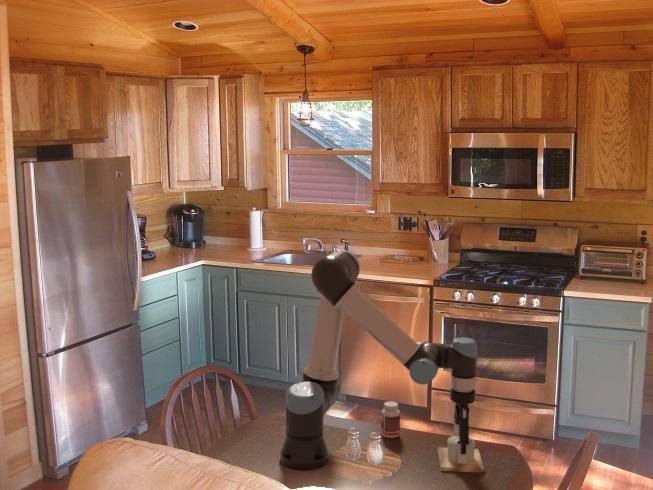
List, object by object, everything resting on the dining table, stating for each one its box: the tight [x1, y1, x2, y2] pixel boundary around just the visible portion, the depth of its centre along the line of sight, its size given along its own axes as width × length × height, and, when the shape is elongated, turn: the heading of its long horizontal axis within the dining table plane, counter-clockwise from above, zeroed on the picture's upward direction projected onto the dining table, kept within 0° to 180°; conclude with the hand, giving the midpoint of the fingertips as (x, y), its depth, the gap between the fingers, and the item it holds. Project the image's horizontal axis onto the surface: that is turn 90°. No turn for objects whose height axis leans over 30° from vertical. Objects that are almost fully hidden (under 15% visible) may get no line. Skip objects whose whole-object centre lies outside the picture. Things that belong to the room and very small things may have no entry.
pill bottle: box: [380, 401, 401, 439], centre depth 258 cm, size 6×6×11 cm
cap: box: [446, 435, 476, 464], centre depth 239 cm, size 8×8×6 cm
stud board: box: [436, 446, 485, 474], centre depth 239 cm, size 13×14×5 cm
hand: (460, 453), depth 239 cm, fingers open, 13 cm apart
